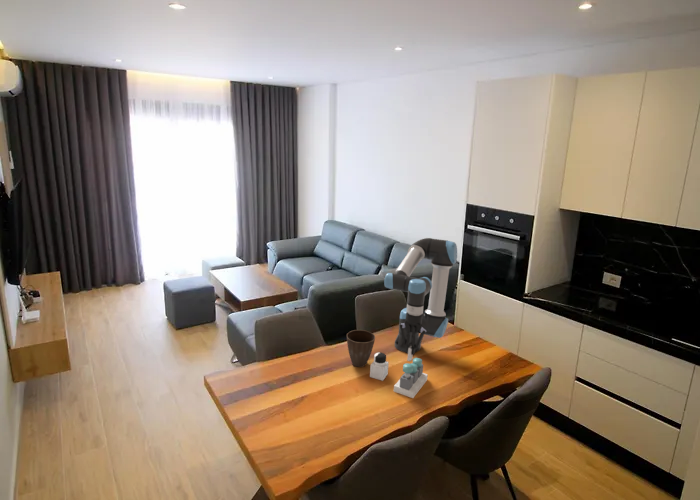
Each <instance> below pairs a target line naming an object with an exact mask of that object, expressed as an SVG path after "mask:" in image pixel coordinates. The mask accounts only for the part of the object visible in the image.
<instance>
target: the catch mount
mask: <svg viewBox="0 0 700 500" xmlns="http://www.w3.org/2000/svg"><path fill="white" fill-rule="evenodd" d="M404 377H405V372H403V374H402V375H401V376H400V378H399V379H398V381H397V382H396V383H395V384H394V385H393V392H394V393H397V394H400V395H402V396H405V397H409V398H410V399H411V398H412V399H414V398H415V396H416V395H417V394H418V393H419V391H420V390H421V389H422V387H423V386H424V385H425V384H426V382H427V380H428V377H429V376H428V374H427V373H424V364H423V363H422V366H421V367H417V372H416V373H410V379H406V378H404Z"/></svg>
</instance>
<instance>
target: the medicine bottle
mask: <svg viewBox="0 0 700 500" xmlns="http://www.w3.org/2000/svg"><path fill="white" fill-rule="evenodd" d="M388 373H389V361H387V355H386V354H385V353H384V352H375V353H374V355H373V361H372V362H371V363H370V370H369V378H372V379H376V380H379V381H381V382H383V381H384V380H385V378H387V376H388Z"/></svg>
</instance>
